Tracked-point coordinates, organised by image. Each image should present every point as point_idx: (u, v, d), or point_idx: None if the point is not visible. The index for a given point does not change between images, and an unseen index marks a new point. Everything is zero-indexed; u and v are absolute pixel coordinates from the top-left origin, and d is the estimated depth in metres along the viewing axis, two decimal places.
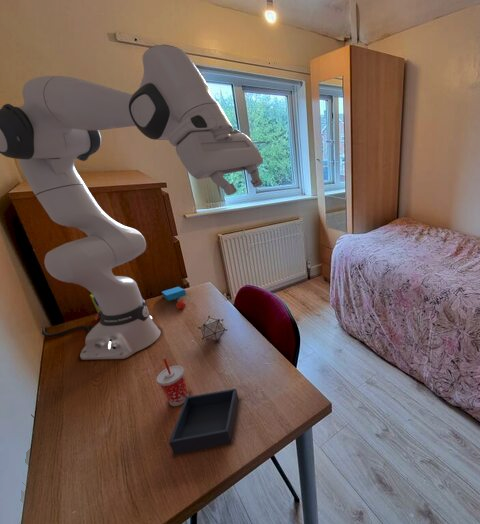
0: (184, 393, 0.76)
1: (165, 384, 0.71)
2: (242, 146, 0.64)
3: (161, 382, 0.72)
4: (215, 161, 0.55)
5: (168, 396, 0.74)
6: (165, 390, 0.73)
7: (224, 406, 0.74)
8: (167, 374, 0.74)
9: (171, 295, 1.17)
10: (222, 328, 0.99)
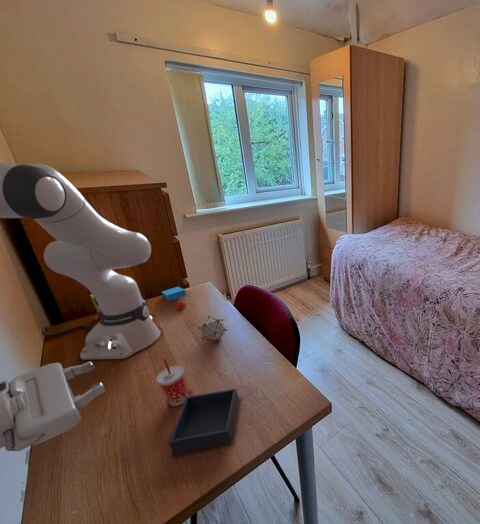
0: (184, 393, 0.76)
1: (165, 384, 0.71)
2: None
3: (161, 382, 0.72)
4: None
5: (168, 396, 0.74)
6: (165, 390, 0.73)
7: (224, 406, 0.74)
8: (167, 374, 0.74)
9: (171, 295, 1.17)
10: (222, 328, 0.99)
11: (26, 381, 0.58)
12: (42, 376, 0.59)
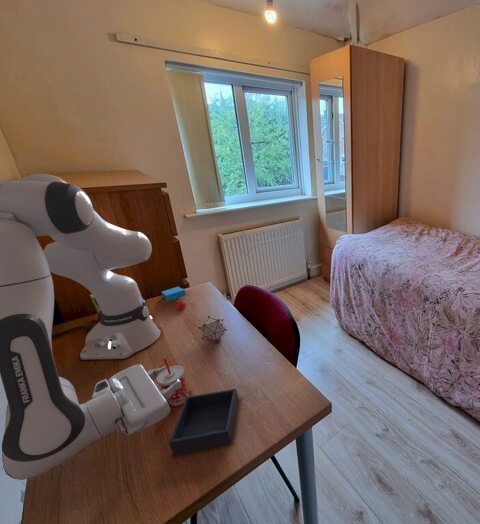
0: (184, 393, 0.76)
1: (165, 384, 0.71)
2: None
3: (161, 382, 0.72)
4: None
5: None
6: None
7: (224, 406, 0.74)
8: (167, 374, 0.74)
9: (171, 295, 1.17)
10: (222, 328, 0.99)
11: (119, 380, 0.72)
12: (131, 375, 0.73)
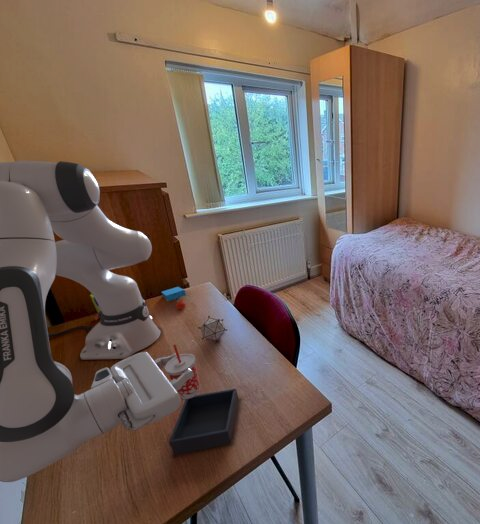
0: (195, 384, 0.67)
1: (175, 373, 0.63)
2: None
3: (170, 371, 0.63)
4: None
5: None
6: None
7: (224, 406, 0.74)
8: (177, 362, 0.65)
9: (171, 295, 1.17)
10: (222, 328, 0.99)
11: (123, 368, 0.63)
12: (136, 364, 0.64)
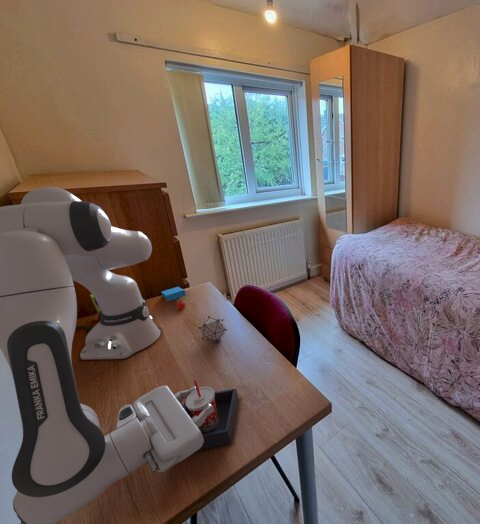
0: (214, 417, 0.68)
1: (195, 409, 0.64)
2: None
3: (190, 406, 0.64)
4: None
5: None
6: (195, 415, 0.65)
7: (224, 406, 0.74)
8: (197, 397, 0.66)
9: (171, 295, 1.17)
10: (222, 328, 0.99)
11: (145, 404, 0.64)
12: (157, 399, 0.65)
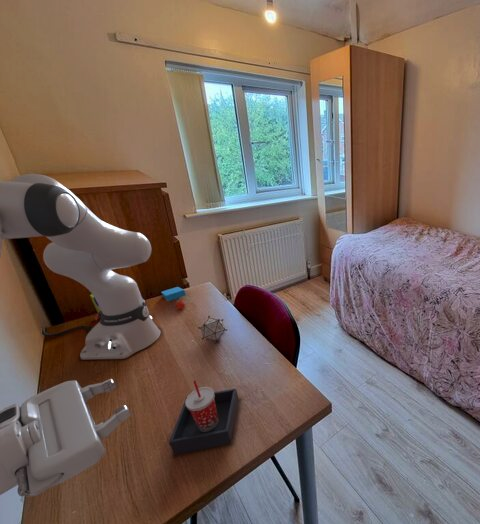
0: (214, 417, 0.68)
1: (195, 409, 0.64)
2: None
3: (190, 406, 0.64)
4: None
5: (198, 422, 0.66)
6: (195, 415, 0.65)
7: (224, 406, 0.74)
8: (197, 397, 0.66)
9: (170, 295, 1.17)
10: (222, 328, 0.99)
11: (39, 404, 0.50)
12: (57, 397, 0.51)
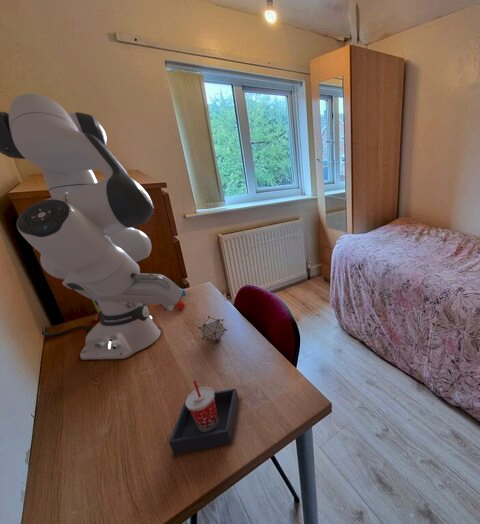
0: (214, 417, 0.68)
1: (195, 409, 0.64)
2: (145, 294, 0.60)
3: (190, 406, 0.64)
4: (104, 298, 0.62)
5: (198, 422, 0.66)
6: (195, 415, 0.65)
7: (224, 406, 0.74)
8: (197, 397, 0.66)
9: None
10: (222, 328, 0.99)
11: None
12: None
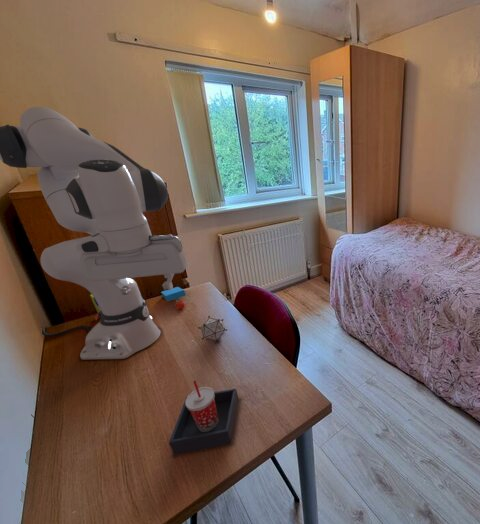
0: (214, 417, 0.68)
1: (195, 409, 0.64)
2: (156, 258, 0.65)
3: (190, 406, 0.64)
4: (105, 274, 0.64)
5: (198, 422, 0.66)
6: (195, 415, 0.65)
7: (224, 406, 0.74)
8: (197, 397, 0.66)
9: (170, 295, 1.17)
10: (222, 328, 0.99)
11: None
12: None
